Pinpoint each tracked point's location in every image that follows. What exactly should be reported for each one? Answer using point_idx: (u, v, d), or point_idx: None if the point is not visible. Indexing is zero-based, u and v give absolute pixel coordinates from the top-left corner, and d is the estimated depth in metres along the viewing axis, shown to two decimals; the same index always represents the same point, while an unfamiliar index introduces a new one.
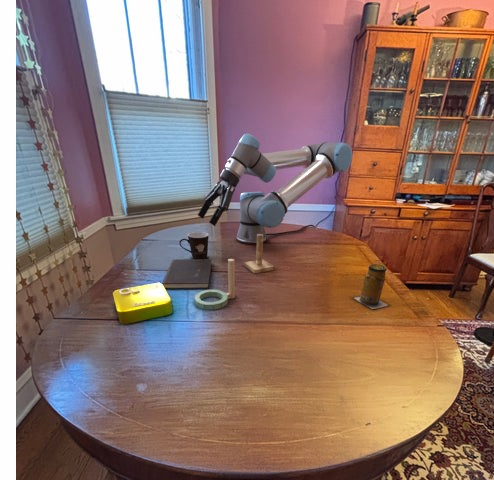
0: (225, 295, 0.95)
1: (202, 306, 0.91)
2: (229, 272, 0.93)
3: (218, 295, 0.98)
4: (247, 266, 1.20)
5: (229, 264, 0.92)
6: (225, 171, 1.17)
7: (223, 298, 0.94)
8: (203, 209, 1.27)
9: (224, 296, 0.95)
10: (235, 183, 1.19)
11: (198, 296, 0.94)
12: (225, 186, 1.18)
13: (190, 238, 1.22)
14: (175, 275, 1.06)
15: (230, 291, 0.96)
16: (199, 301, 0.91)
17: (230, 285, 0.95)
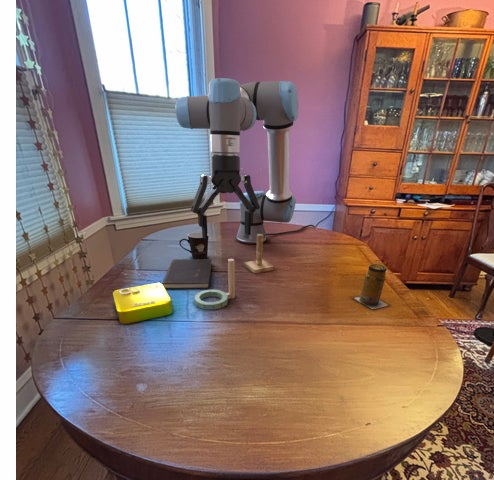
0: (225, 295, 0.95)
1: (202, 306, 0.91)
2: (229, 272, 0.93)
3: (218, 295, 0.98)
4: (247, 266, 1.20)
5: (229, 264, 0.92)
6: (235, 160, 0.76)
7: (223, 298, 0.94)
8: None
9: (224, 296, 0.95)
10: None
11: (198, 296, 0.94)
12: (236, 179, 0.81)
13: (190, 238, 1.22)
14: (175, 275, 1.06)
15: (230, 291, 0.96)
16: (199, 301, 0.91)
17: (230, 285, 0.95)
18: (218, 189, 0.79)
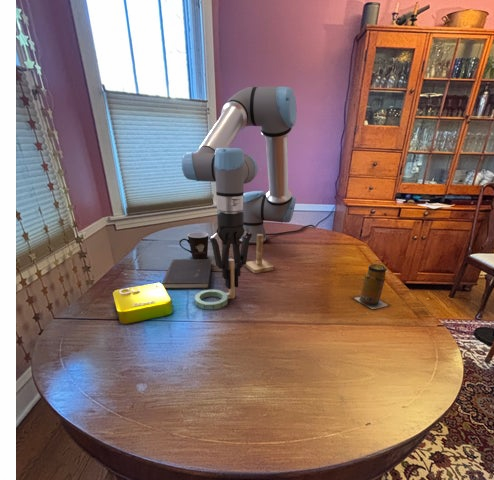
0: (225, 295, 0.96)
1: (202, 306, 0.91)
2: None
3: (218, 295, 0.98)
4: (247, 266, 1.20)
5: (229, 264, 0.92)
6: (239, 217, 0.83)
7: (223, 298, 0.94)
8: None
9: (224, 296, 0.95)
10: None
11: (198, 296, 0.94)
12: (240, 231, 0.87)
13: (190, 238, 1.22)
14: (175, 275, 1.06)
15: (230, 291, 0.96)
16: (199, 301, 0.91)
17: None
18: (228, 243, 0.87)
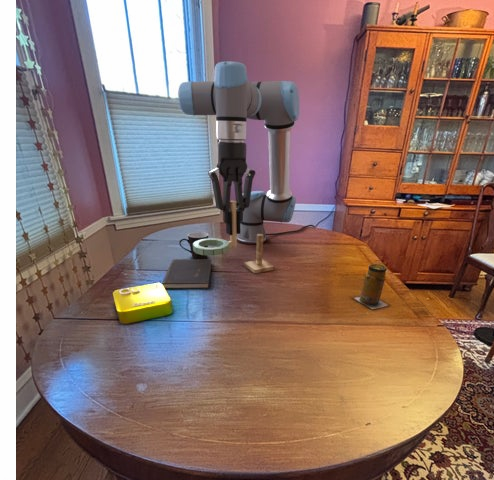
0: (226, 242, 0.88)
1: (201, 251, 0.83)
2: None
3: (219, 243, 0.90)
4: (247, 266, 1.20)
5: (230, 206, 0.84)
6: (242, 147, 0.75)
7: (224, 244, 0.86)
8: None
9: (225, 243, 0.87)
10: None
11: (197, 243, 0.87)
12: (243, 167, 0.80)
13: (190, 238, 1.22)
14: (175, 275, 1.06)
15: (232, 238, 0.89)
16: (198, 247, 0.84)
17: (232, 231, 0.88)
18: (229, 180, 0.79)
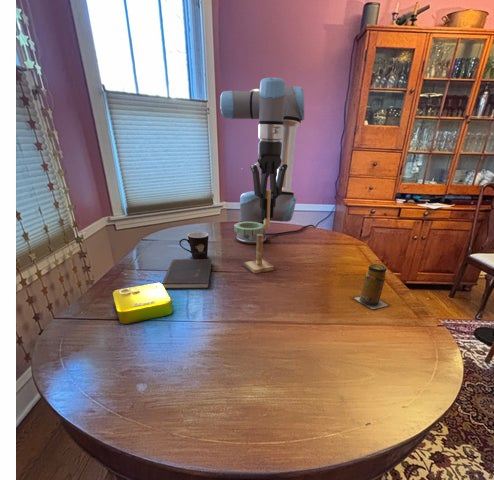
0: (261, 224, 1.06)
1: (242, 231, 1.01)
2: None
3: (254, 226, 1.08)
4: (247, 266, 1.20)
5: (266, 194, 1.02)
6: (279, 145, 0.93)
7: (260, 226, 1.04)
8: None
9: (261, 225, 1.05)
10: None
11: (237, 225, 1.05)
12: (278, 162, 0.98)
13: (190, 238, 1.22)
14: (175, 275, 1.06)
15: (266, 221, 1.07)
16: (239, 227, 1.02)
17: None
18: (267, 172, 0.97)
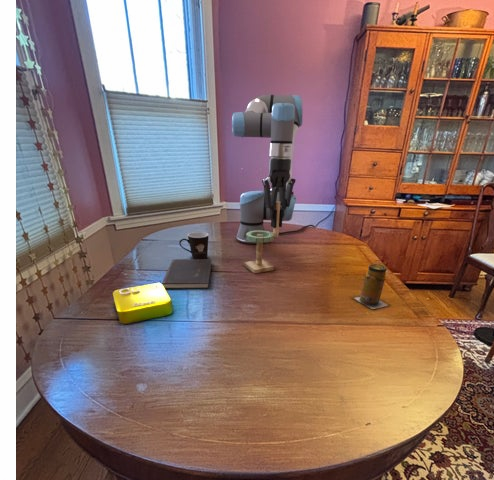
0: (271, 233, 1.15)
1: (254, 239, 1.10)
2: None
3: (264, 234, 1.17)
4: (247, 266, 1.20)
5: (276, 205, 1.11)
6: (288, 162, 1.02)
7: (270, 235, 1.13)
8: None
9: (270, 234, 1.14)
10: None
11: (249, 233, 1.14)
12: (287, 176, 1.07)
13: (190, 238, 1.22)
14: (175, 275, 1.06)
15: (275, 230, 1.16)
16: (251, 236, 1.11)
17: None
18: (277, 186, 1.06)
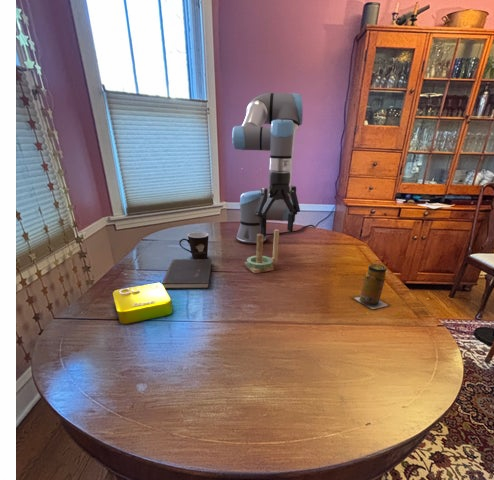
0: (270, 259, 1.21)
1: (254, 266, 1.16)
2: (274, 240, 1.18)
3: (264, 259, 1.23)
4: (247, 266, 1.20)
5: (275, 233, 1.17)
6: (288, 176, 1.04)
7: (269, 261, 1.19)
8: None
9: (270, 259, 1.20)
10: None
11: (249, 259, 1.20)
12: (287, 189, 1.09)
13: (190, 238, 1.22)
14: (175, 275, 1.06)
15: (274, 256, 1.21)
16: (251, 263, 1.16)
17: (274, 251, 1.20)
18: (274, 197, 1.08)
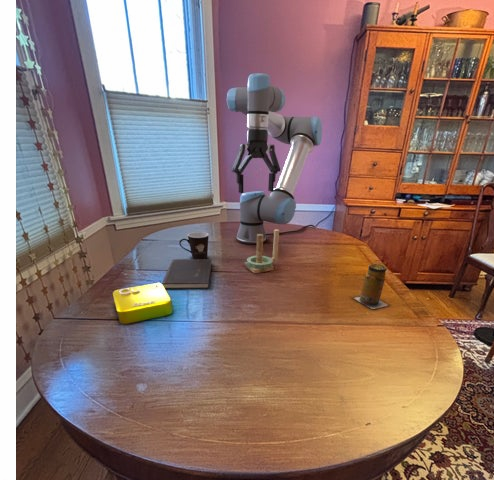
0: (270, 259, 1.21)
1: (254, 266, 1.16)
2: (274, 240, 1.18)
3: (264, 259, 1.23)
4: (247, 266, 1.20)
5: (275, 233, 1.17)
6: (265, 133, 1.06)
7: (269, 261, 1.19)
8: None
9: (270, 259, 1.20)
10: None
11: (249, 259, 1.20)
12: (265, 147, 1.11)
13: (190, 238, 1.22)
14: (175, 275, 1.06)
15: (274, 256, 1.21)
16: (251, 263, 1.16)
17: (274, 251, 1.20)
18: (252, 154, 1.10)
